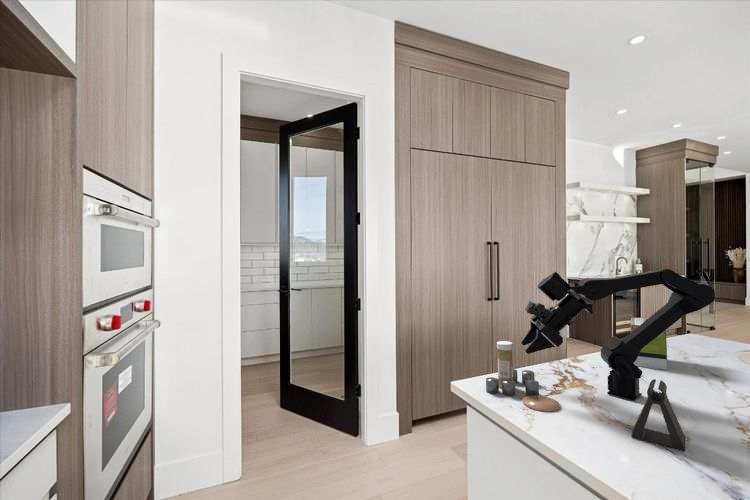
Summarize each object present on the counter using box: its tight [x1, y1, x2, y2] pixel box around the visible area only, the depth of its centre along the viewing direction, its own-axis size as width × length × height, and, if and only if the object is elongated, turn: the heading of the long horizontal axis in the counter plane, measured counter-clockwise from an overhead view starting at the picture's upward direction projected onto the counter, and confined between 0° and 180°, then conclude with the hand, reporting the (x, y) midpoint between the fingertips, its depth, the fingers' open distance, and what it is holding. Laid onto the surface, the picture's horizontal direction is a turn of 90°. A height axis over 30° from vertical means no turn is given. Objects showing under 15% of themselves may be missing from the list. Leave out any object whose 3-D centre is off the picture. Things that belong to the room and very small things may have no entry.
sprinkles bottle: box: [496, 340, 514, 389], centre depth 110 cm, size 5×5×13 cm
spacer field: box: [485, 368, 540, 397], centre depth 108 cm, size 13×17×4 cm
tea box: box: [629, 317, 668, 371], centre depth 130 cm, size 15×10×15 cm, turn 144°
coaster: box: [522, 394, 561, 413], centre depth 97 cm, size 9×9×1 cm
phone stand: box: [630, 379, 687, 452], centre depth 79 cm, size 9×6×12 cm, turn 48°
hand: (524, 348), depth 108 cm, fingers open, 9 cm apart
